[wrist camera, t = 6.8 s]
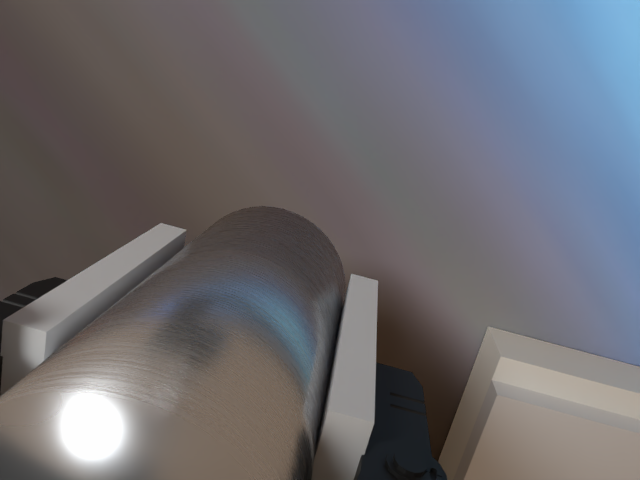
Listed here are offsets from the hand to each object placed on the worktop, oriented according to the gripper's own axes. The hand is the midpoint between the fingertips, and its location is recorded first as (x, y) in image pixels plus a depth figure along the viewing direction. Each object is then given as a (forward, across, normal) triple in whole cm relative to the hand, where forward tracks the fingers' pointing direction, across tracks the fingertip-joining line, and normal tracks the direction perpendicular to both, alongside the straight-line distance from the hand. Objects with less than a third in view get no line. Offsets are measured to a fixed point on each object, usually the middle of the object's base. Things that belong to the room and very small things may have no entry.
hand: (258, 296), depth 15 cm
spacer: (+1, 0, 0) cm, 1 cm away
